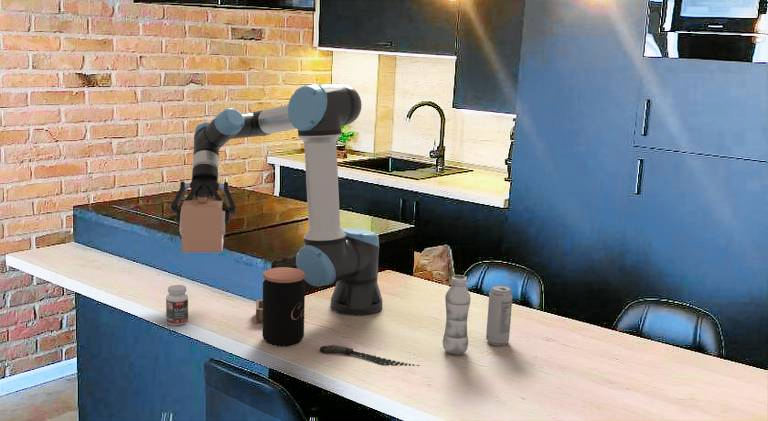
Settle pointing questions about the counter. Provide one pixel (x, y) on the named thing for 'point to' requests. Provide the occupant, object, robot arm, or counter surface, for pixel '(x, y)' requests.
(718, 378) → the counter surface
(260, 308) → the walnut open box
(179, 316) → the pill bottle
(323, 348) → the knife
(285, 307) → the coffee jar
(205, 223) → the cube with knob
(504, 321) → the energy drink can
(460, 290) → the plastic bottle
